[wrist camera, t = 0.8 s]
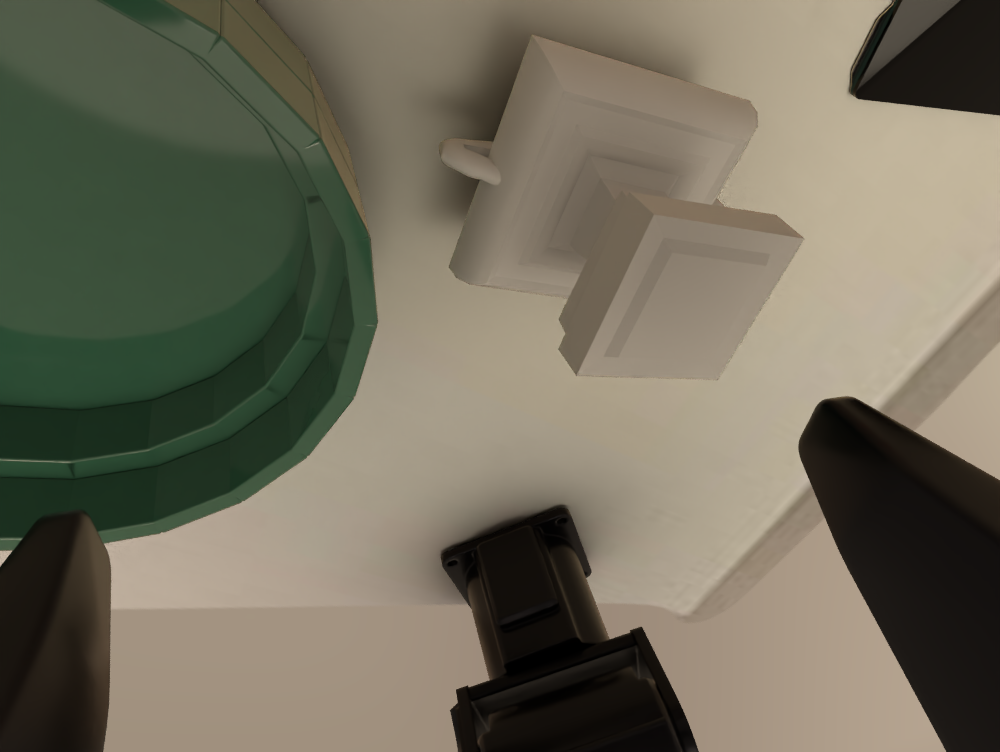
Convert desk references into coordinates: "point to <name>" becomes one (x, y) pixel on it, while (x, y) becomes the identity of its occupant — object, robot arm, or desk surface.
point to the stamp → (621, 214)
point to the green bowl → (168, 262)
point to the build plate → (933, 56)
